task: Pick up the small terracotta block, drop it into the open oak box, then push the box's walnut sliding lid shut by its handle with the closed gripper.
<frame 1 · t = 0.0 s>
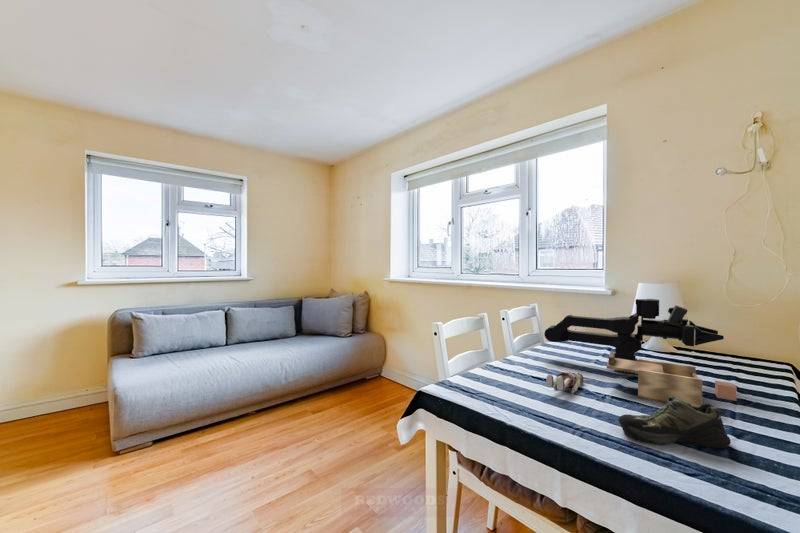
hand: (720, 334, 106), 17 cm above the table, tool horizontal, fingers open, 9 cm apart
lid: (634, 362, 103), point 8 cm above the table, slide at 8.0 cm
hiking shoe: (670, 439, 75), on the table
box: (666, 395, 99), on the table
figurine: (567, 390, 104), on the table
block: (725, 397, 98), on the table
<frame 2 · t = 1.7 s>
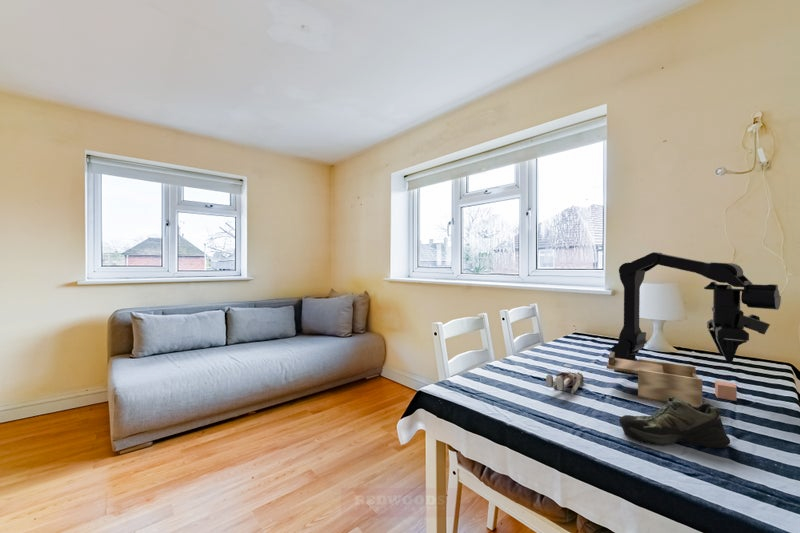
hand: (725, 358, 98), 12 cm above the table, tool pointing down, fingers open, 9 cm apart
nothing on the table moved.
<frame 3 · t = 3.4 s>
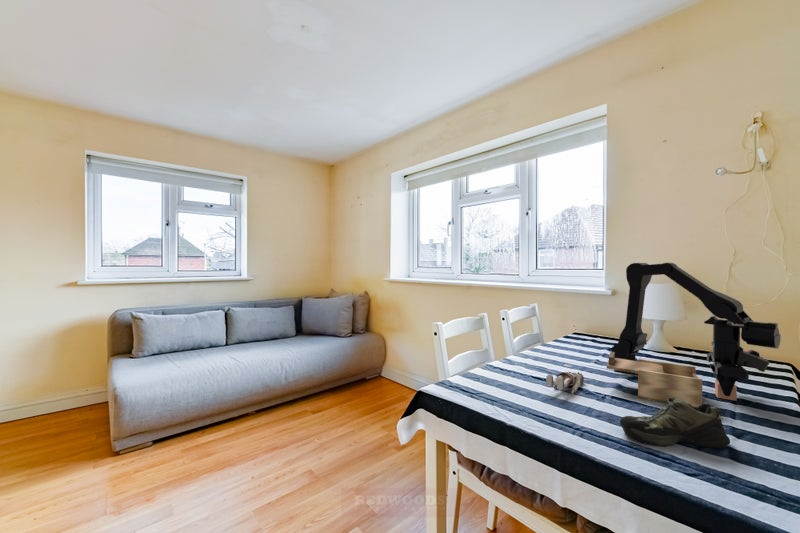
hand: (725, 393, 98), 1 cm above the table, tool pointing down, fingers closed on block, 4 cm apart
block: (725, 396, 98), on the table, touching gripper
everything else where it was.
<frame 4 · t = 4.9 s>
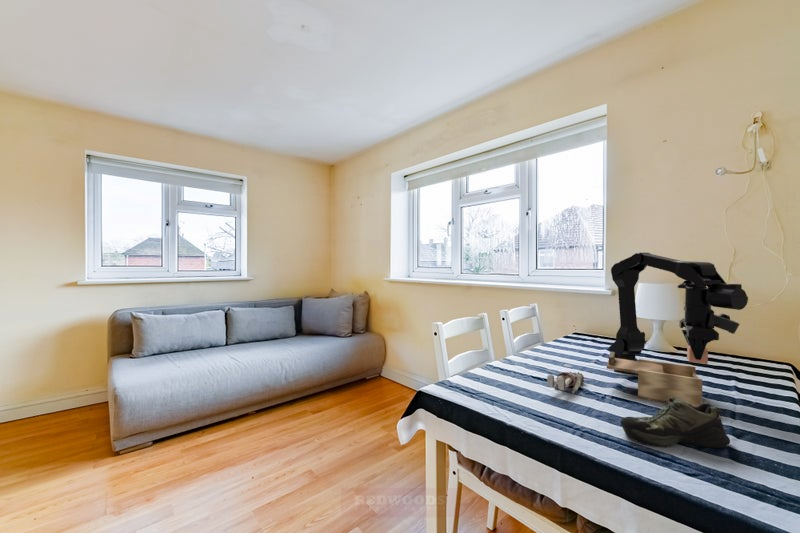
hand: (696, 357, 97), 12 cm above the table, tool pointing down, fingers closed on block, 4 cm apart
block: (697, 361, 97), point 11 cm above the table, touching gripper
everything else where it was.
when the fingers open (6 cm above the table, at t = 6.5 s): block drops 5 cm, resting on box.
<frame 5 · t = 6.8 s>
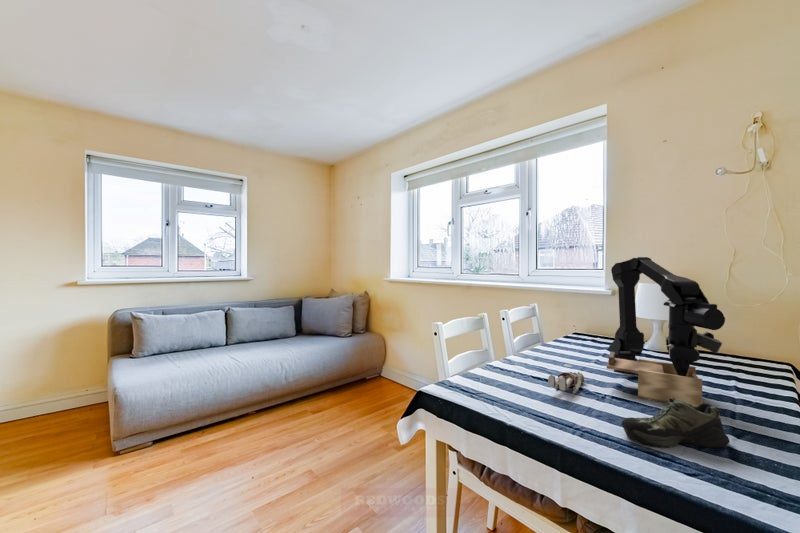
hand: (680, 376, 97), 6 cm above the table, tool pointing down, fingers open, 7 cm apart
block: (680, 396, 97), point 1 cm above the table, touching box
everything else where it was.
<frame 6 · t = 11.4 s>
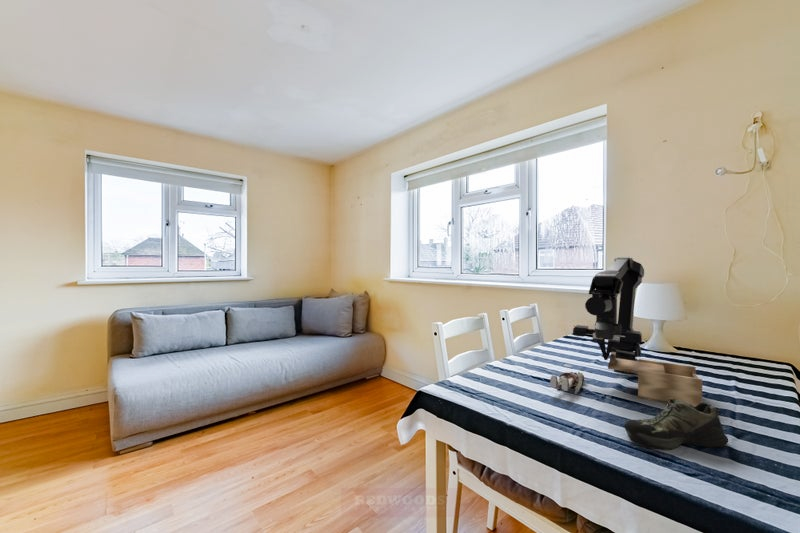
hand: (605, 359, 108), 8 cm above the table, tool pointing down, fingers closed
lid: (635, 362, 103), point 8 cm above the table, slide at 7.6 cm, touching gripper
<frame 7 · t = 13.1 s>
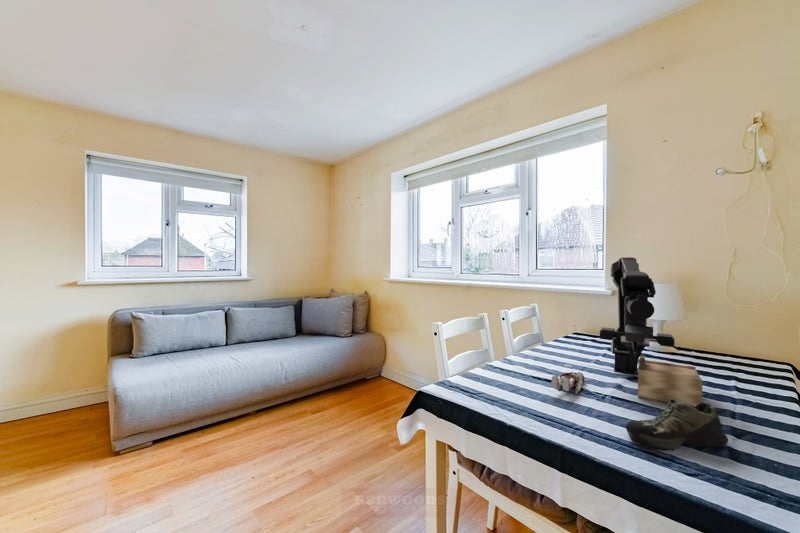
hand: (634, 364, 103), 8 cm above the table, tool pointing down, fingers closed
lid: (667, 367, 99), point 8 cm above the table, slide at 0.0 cm, touching gripper
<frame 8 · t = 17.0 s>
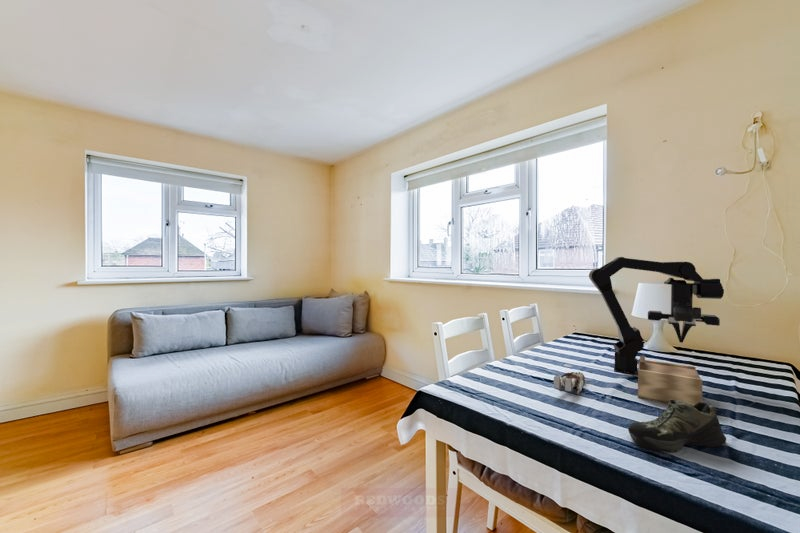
hand: (681, 342, 115), 12 cm above the table, tool pointing down, fingers closed
lid: (667, 367, 99), point 8 cm above the table, slide at 0.0 cm
at the end: lid slide at 0.0 cm; block inside the target area on the box (3.1 cm from its centre), point 0.6 cm above the box's base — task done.
